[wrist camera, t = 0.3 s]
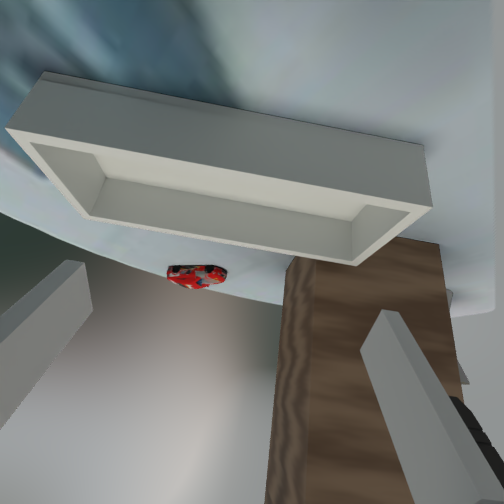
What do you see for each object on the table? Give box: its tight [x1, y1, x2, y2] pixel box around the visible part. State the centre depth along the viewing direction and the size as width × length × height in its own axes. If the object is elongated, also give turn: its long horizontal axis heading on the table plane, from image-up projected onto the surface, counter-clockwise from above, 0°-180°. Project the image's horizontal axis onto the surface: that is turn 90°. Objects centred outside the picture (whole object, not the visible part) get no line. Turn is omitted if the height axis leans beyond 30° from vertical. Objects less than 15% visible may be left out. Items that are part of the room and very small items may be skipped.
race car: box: [167, 265, 227, 289], centre depth 57 cm, size 13×5×4 cm, turn 109°
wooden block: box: [264, 237, 464, 504], centre depth 36 cm, size 18×16×37 cm
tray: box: [5, 71, 433, 266], centre depth 26 cm, size 12×30×6 cm, turn 84°
